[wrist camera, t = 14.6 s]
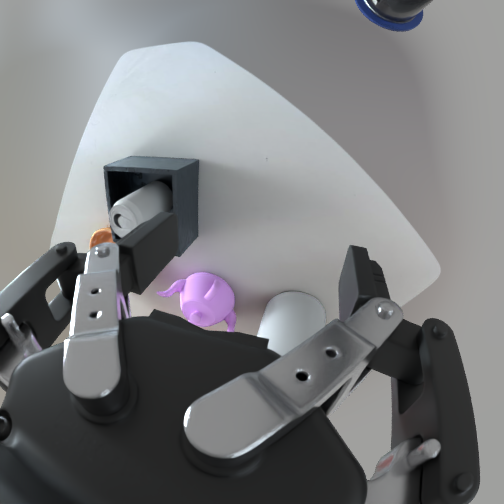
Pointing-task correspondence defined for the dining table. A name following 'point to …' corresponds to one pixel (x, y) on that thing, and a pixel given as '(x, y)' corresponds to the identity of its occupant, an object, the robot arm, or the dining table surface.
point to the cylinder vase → (291, 320)
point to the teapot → (205, 299)
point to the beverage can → (140, 207)
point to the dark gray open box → (168, 172)
